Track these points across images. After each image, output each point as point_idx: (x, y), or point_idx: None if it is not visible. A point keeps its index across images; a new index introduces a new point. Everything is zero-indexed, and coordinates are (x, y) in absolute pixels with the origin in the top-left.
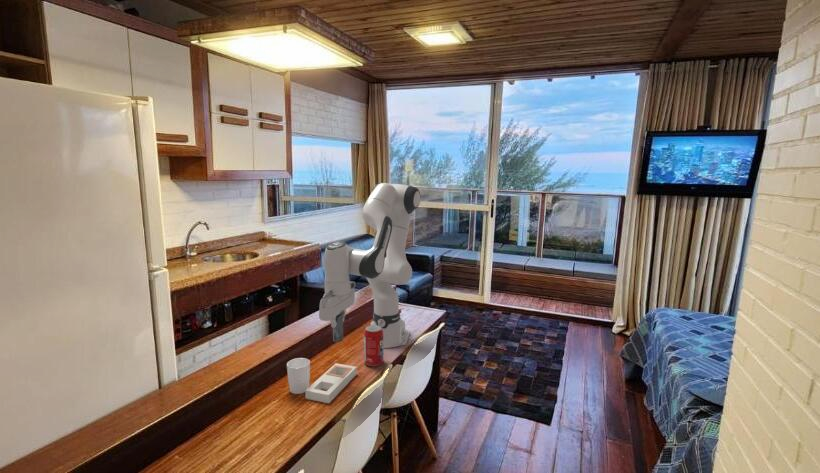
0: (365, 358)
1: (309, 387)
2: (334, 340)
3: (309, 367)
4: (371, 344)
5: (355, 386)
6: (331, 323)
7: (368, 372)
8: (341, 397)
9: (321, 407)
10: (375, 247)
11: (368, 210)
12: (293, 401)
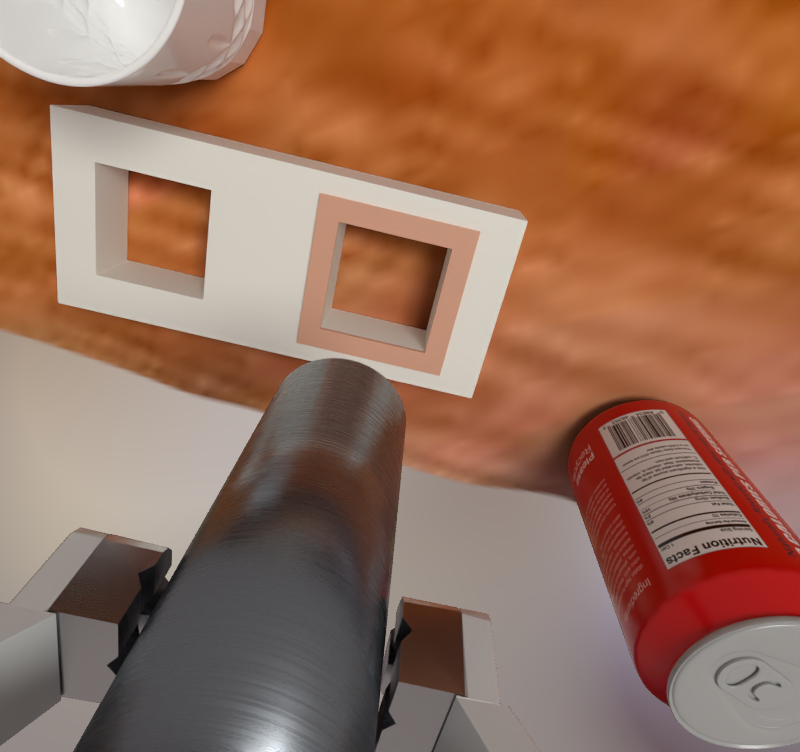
0: (607, 436)
1: (99, 123)
2: (275, 394)
3: (121, 85)
4: (610, 571)
5: None
6: (32, 589)
7: (498, 438)
8: (176, 341)
9: (39, 252)
10: None
11: None
12: None
